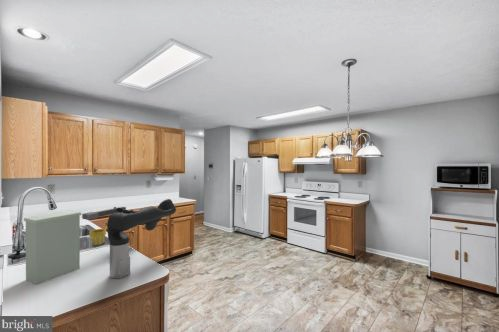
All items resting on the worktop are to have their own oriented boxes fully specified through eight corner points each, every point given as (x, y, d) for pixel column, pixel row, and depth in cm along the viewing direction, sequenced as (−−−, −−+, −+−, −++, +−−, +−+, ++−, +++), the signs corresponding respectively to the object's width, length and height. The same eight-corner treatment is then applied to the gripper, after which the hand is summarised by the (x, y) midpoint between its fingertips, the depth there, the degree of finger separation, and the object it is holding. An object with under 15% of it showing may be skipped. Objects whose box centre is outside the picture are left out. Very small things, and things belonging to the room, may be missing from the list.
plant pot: (87, 246, 169) (87, 233, 169) (92, 242, 179) (92, 229, 179) (103, 245, 172) (103, 232, 172) (107, 241, 182) (107, 228, 182)
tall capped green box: (69, 264, 140) (69, 210, 139) (81, 268, 135) (81, 212, 135) (24, 280, 121) (23, 218, 120) (35, 285, 116) (35, 220, 116)
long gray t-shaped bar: (121, 210, 167) (121, 206, 167) (127, 211, 164) (127, 207, 164) (82, 218, 143) (82, 213, 143) (88, 219, 141) (88, 214, 141)
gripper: (139, 222, 169) (120, 215, 155) (125, 220, 175) (106, 212, 161) (143, 212, 172) (125, 204, 158) (130, 210, 178) (111, 202, 164)
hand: (115, 208), depth 160 cm, fingers closed on long gray t-shaped bar, 3 cm apart
